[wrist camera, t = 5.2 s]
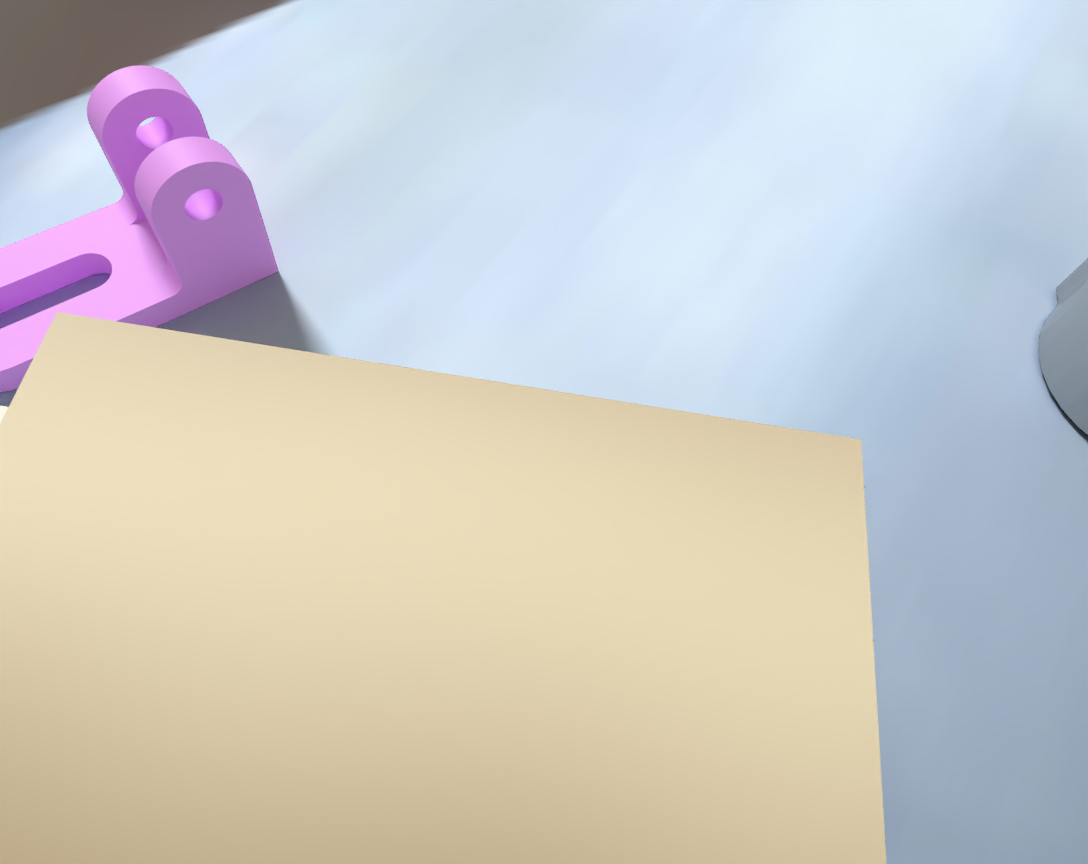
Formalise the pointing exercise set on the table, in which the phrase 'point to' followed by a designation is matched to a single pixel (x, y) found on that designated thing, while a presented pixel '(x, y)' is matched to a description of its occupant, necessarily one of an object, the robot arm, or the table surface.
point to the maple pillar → (419, 619)
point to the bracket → (141, 223)
